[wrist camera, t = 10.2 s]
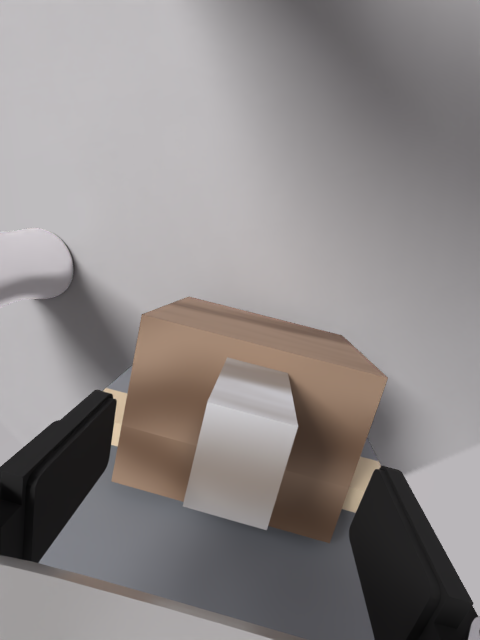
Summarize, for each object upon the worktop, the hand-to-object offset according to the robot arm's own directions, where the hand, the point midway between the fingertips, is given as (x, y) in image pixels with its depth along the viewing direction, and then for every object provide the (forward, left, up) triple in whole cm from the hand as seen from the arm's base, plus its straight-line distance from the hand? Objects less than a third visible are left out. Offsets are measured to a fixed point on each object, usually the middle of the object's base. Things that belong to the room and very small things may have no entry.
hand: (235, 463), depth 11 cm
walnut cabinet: (+3, 0, -13) cm, 14 cm away
